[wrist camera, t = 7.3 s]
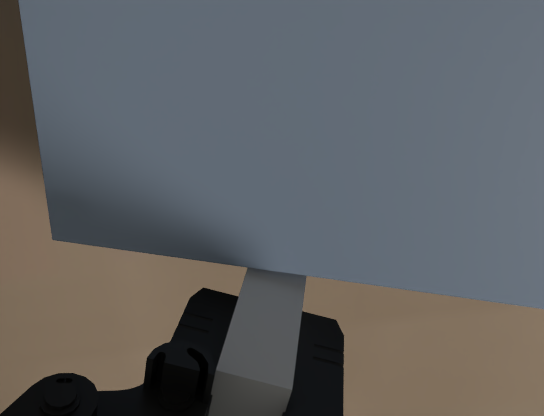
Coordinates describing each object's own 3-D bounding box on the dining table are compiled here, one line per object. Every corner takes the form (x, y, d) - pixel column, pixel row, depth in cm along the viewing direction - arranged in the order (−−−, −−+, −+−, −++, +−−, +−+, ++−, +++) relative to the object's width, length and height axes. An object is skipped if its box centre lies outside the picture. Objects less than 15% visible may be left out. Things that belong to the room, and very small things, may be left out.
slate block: (491, 210, 16) (545, 309, 12) (128, 164, 17) (52, 239, 13) (613, -176, 12) (779, -252, 7) (106, -210, 12) (-25, -296, 8)
